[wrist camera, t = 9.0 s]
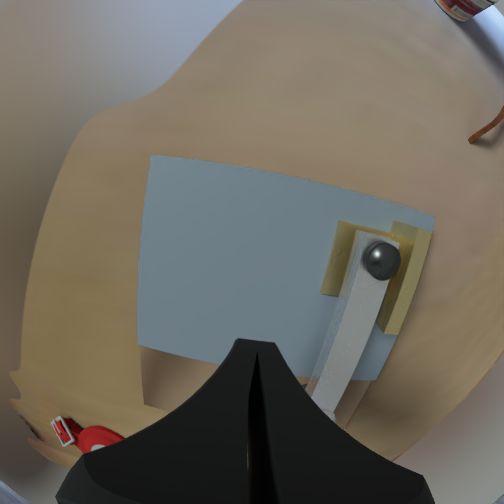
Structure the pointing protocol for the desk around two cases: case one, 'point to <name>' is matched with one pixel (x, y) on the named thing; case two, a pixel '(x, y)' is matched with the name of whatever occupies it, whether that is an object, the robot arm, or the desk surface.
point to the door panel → (247, 261)
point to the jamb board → (198, 372)
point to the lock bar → (353, 317)
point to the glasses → (488, 126)
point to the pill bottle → (464, 7)
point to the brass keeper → (399, 285)
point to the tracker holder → (84, 435)
